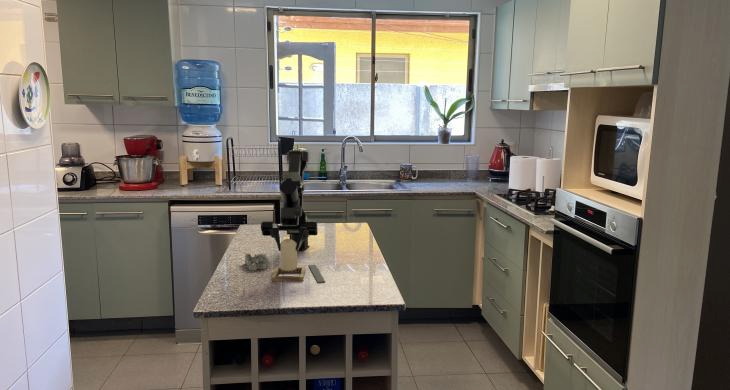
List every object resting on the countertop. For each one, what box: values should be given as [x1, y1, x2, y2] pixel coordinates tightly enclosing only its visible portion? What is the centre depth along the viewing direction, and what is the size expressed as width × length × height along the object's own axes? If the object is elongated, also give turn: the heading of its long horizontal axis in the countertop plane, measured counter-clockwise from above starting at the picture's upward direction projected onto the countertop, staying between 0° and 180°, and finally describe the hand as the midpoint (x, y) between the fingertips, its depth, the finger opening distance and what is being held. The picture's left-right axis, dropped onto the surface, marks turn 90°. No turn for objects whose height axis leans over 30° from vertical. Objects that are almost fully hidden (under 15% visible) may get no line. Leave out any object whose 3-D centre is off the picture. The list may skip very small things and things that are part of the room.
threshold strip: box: [308, 264, 326, 284], centre depth 174 cm, size 18×2×1 cm, turn 16°
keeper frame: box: [271, 266, 306, 283], centre depth 172 cm, size 10×10×2 cm
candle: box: [279, 238, 298, 271], centre depth 171 cm, size 6×6×10 cm
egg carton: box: [244, 252, 269, 271], centre depth 183 cm, size 11×8×4 cm
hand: (288, 250), depth 169 cm, fingers closed on candle, 5 cm apart
